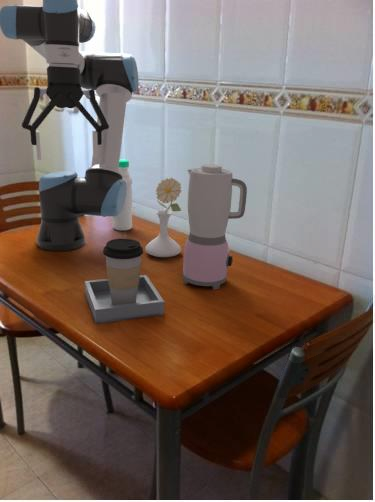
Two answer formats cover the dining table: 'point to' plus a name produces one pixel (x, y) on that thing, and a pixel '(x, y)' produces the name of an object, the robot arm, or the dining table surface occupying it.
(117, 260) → the coffee cup
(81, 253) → the dining table surface
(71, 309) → the dining table surface
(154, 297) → the tray
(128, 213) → the water bottle
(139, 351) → the dining table surface
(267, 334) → the dining table surface
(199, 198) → the blender
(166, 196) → the flower in vase
